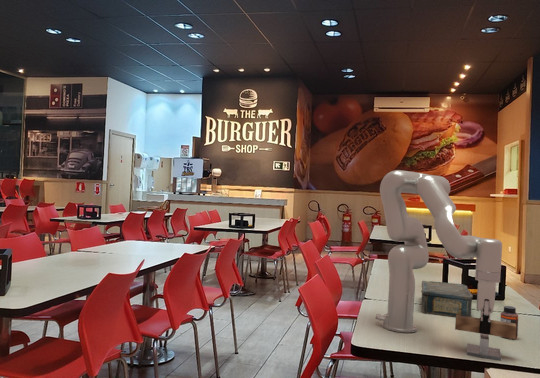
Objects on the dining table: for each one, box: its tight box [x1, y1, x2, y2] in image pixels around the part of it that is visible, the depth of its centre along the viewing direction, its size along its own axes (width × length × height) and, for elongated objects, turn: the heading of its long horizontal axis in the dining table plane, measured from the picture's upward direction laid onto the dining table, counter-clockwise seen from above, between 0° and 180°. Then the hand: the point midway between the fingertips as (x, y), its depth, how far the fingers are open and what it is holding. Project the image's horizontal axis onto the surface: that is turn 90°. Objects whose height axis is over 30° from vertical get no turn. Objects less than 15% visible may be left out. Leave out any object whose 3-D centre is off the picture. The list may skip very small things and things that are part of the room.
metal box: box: [420, 280, 474, 318], centre depth 225 cm, size 21×32×10 cm, turn 163°
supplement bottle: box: [499, 305, 519, 340], centre depth 182 cm, size 6×6×11 cm
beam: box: [454, 315, 517, 340], centre depth 161 cm, size 18×4×4 cm, turn 67°
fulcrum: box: [466, 333, 502, 362], centre depth 161 cm, size 10×10×6 cm
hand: (484, 331), depth 161 cm, fingers closed on beam, 4 cm apart
